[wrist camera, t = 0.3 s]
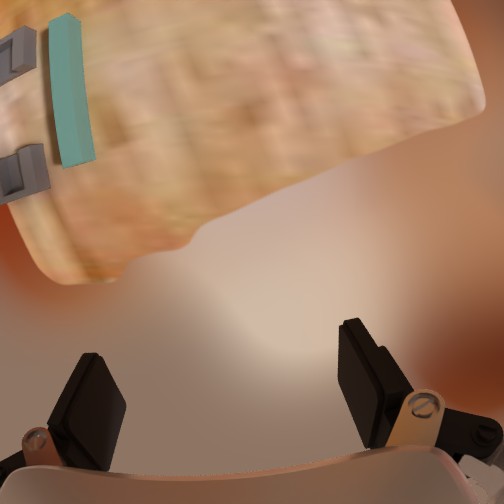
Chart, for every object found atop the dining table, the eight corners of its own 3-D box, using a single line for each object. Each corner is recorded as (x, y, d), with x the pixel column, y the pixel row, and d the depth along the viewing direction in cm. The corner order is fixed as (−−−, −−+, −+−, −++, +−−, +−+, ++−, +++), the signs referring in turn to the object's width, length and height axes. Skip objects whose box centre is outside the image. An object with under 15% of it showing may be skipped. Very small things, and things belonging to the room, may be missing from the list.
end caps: (-6, 54, 27) (-18, 51, 24) (36, 30, 28) (24, 25, 24) (8, 201, 36) (-5, 206, 33) (50, 187, 37) (37, 192, 33)
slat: (63, 29, 29) (48, 21, 25) (81, 22, 29) (67, 12, 25) (78, 165, 36) (62, 168, 32) (96, 159, 36) (82, 162, 32)
